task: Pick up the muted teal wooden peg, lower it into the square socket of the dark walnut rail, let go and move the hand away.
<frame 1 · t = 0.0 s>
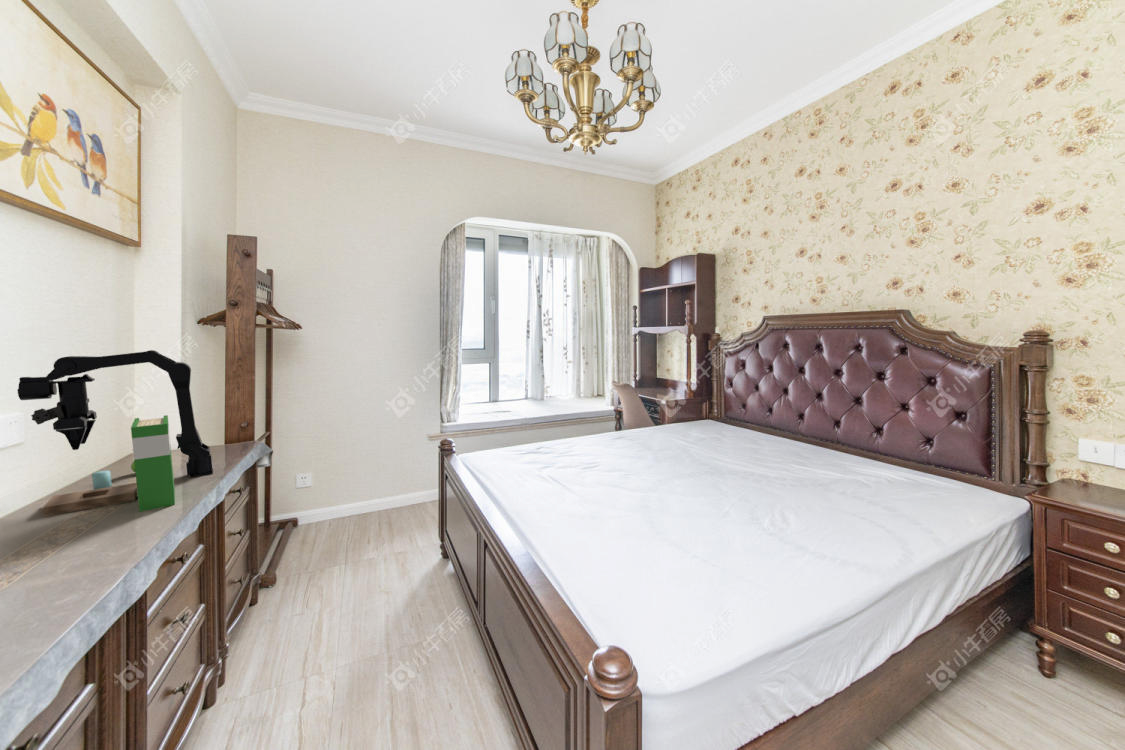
hand: (79, 446, 135), 15 cm above the dresser top, tool pointing down, fingers open, 9 cm apart
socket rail: (95, 502, 128), on the dresser top
snail figurine: (143, 473, 155), on the dresser top
hardback book: (158, 500, 130), on the dresser top
teal peg: (103, 490, 137), on the dresser top
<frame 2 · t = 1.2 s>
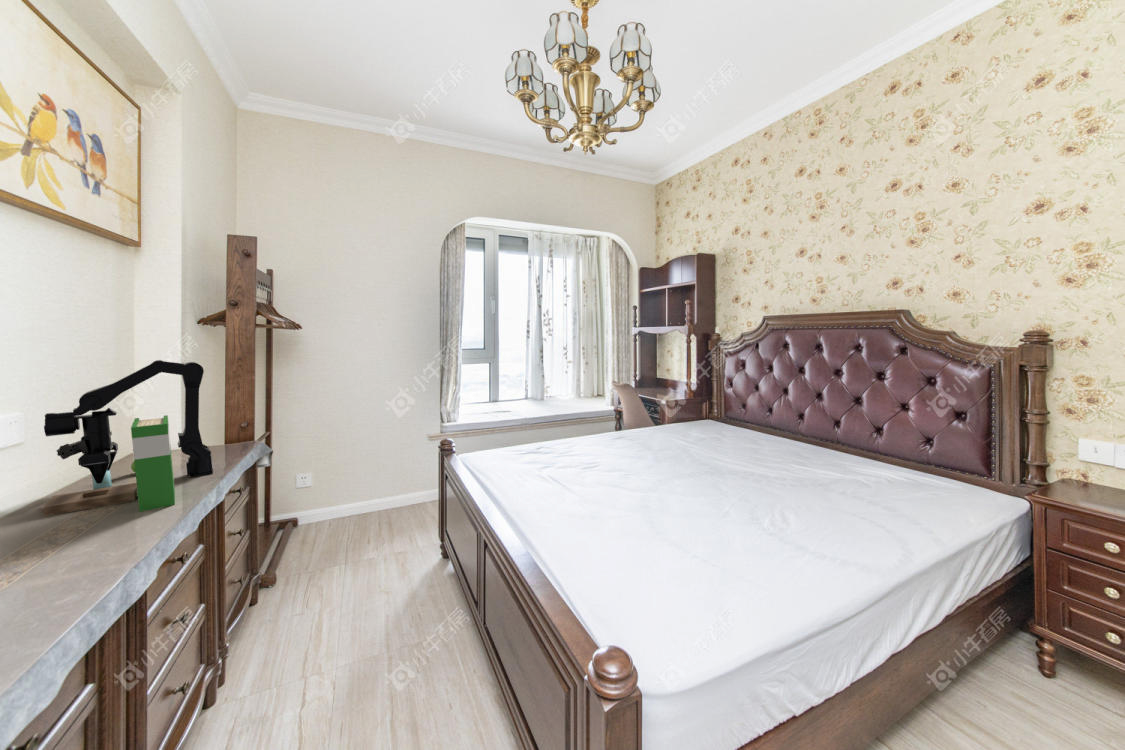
hand: (102, 479, 137), 4 cm above the dresser top, tool pointing down, fingers open, 9 cm apart
nothing on the dresser top moved.
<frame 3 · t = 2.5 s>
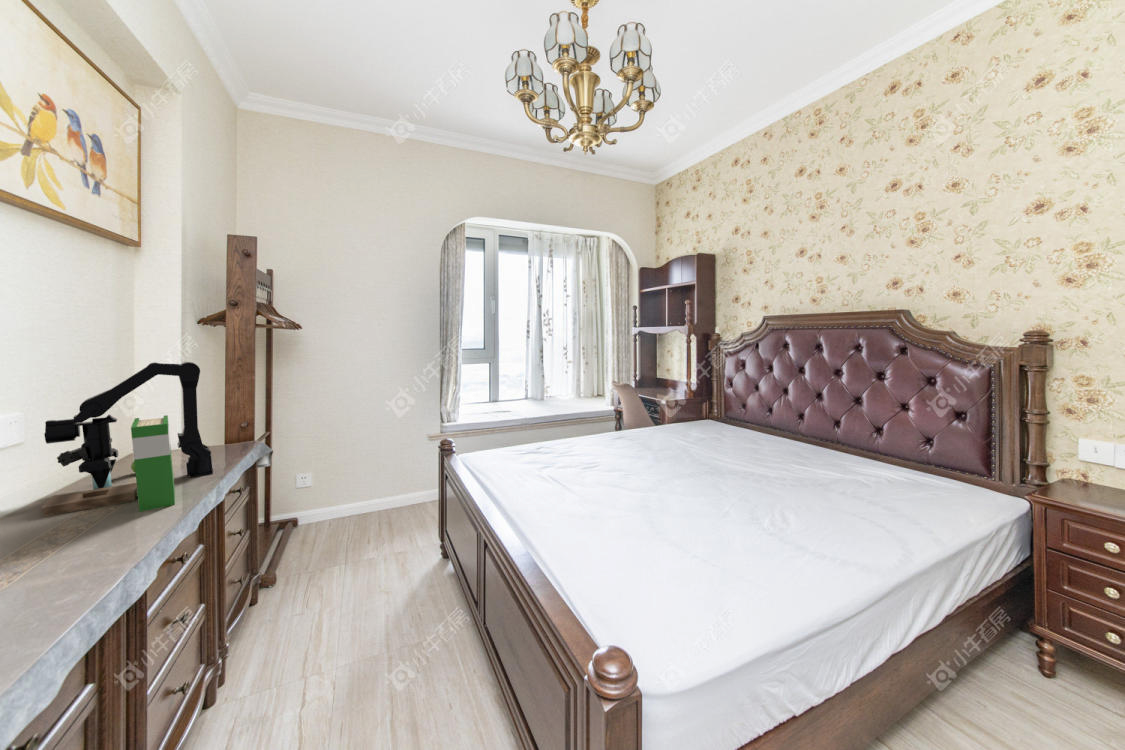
hand: (102, 486, 137), 2 cm above the dresser top, tool pointing down, fingers closed on teal peg, 4 cm apart
teal peg: (103, 490, 137), on the dresser top, touching gripper
everything else where it was.
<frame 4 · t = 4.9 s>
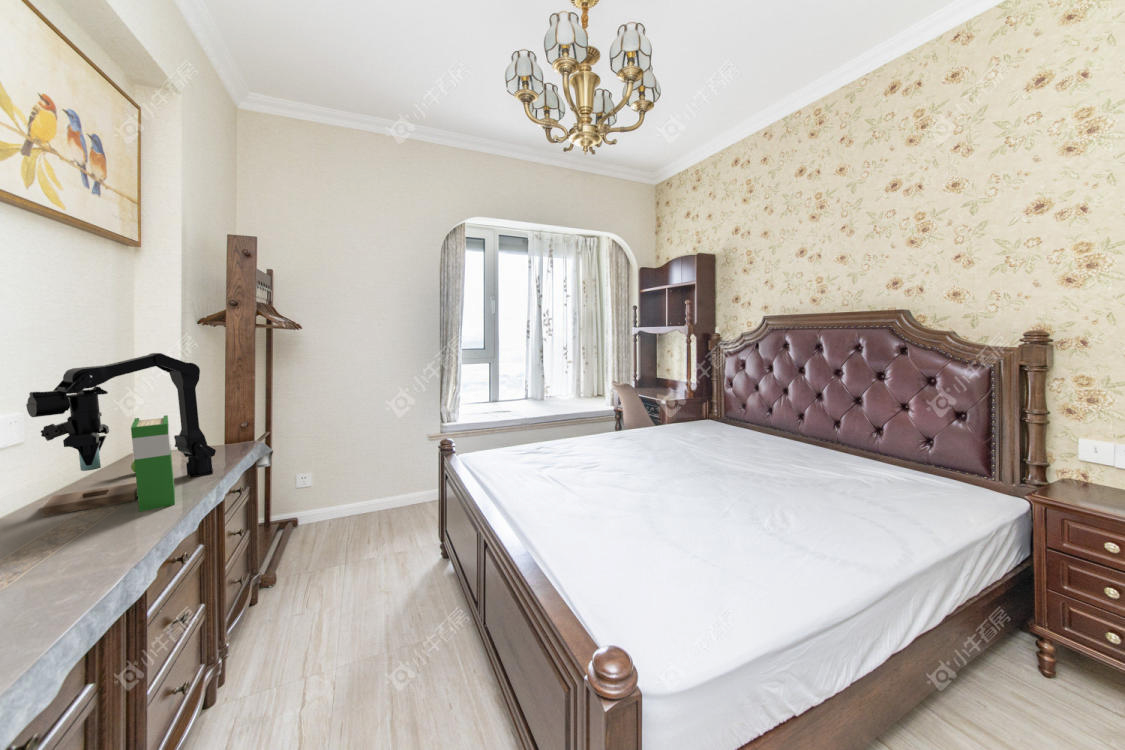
hand: (90, 463, 127), 12 cm above the dresser top, tool pointing down, fingers closed on teal peg, 4 cm apart
teal peg: (90, 468, 127), point 10 cm above the dresser top, touching gripper
everything else where it was.
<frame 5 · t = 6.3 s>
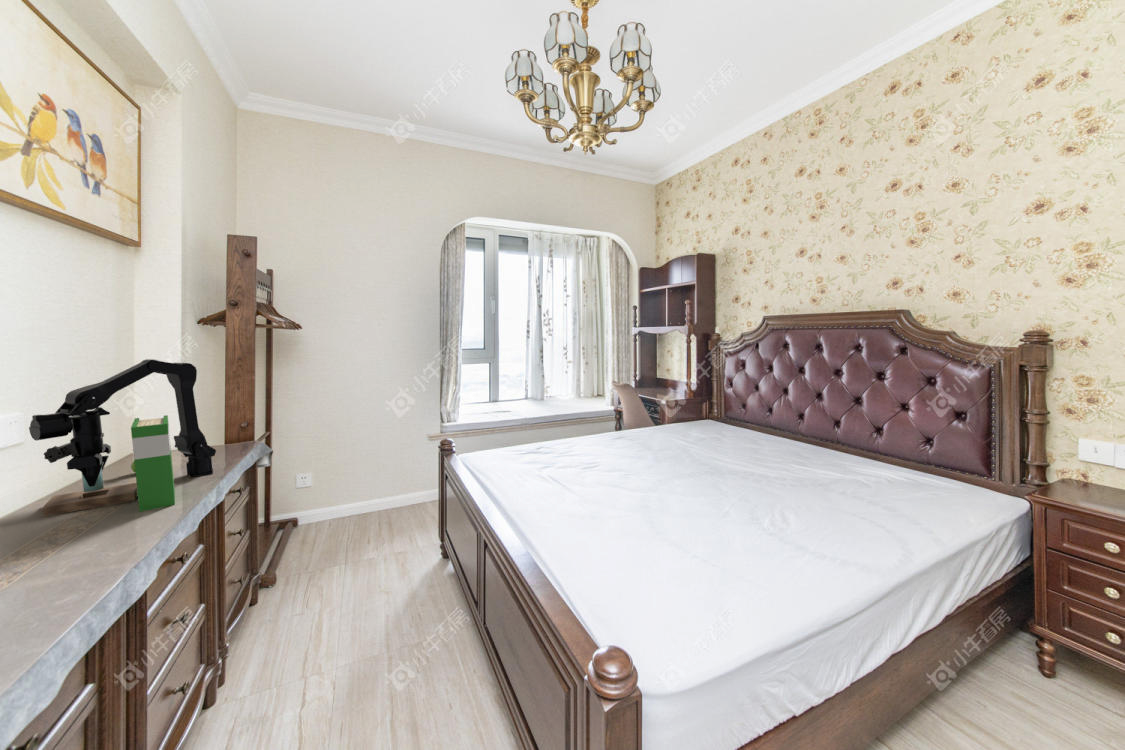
hand: (93, 484, 128), 5 cm above the dresser top, tool pointing down, fingers closed on teal peg, 4 cm apart
teal peg: (93, 489, 128), point 4 cm above the dresser top, touching gripper
everything else where it was.
when the fingers open (3 cm above the dresser top, at t = 7.5 s): teal peg drops 2 cm, resting in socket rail.
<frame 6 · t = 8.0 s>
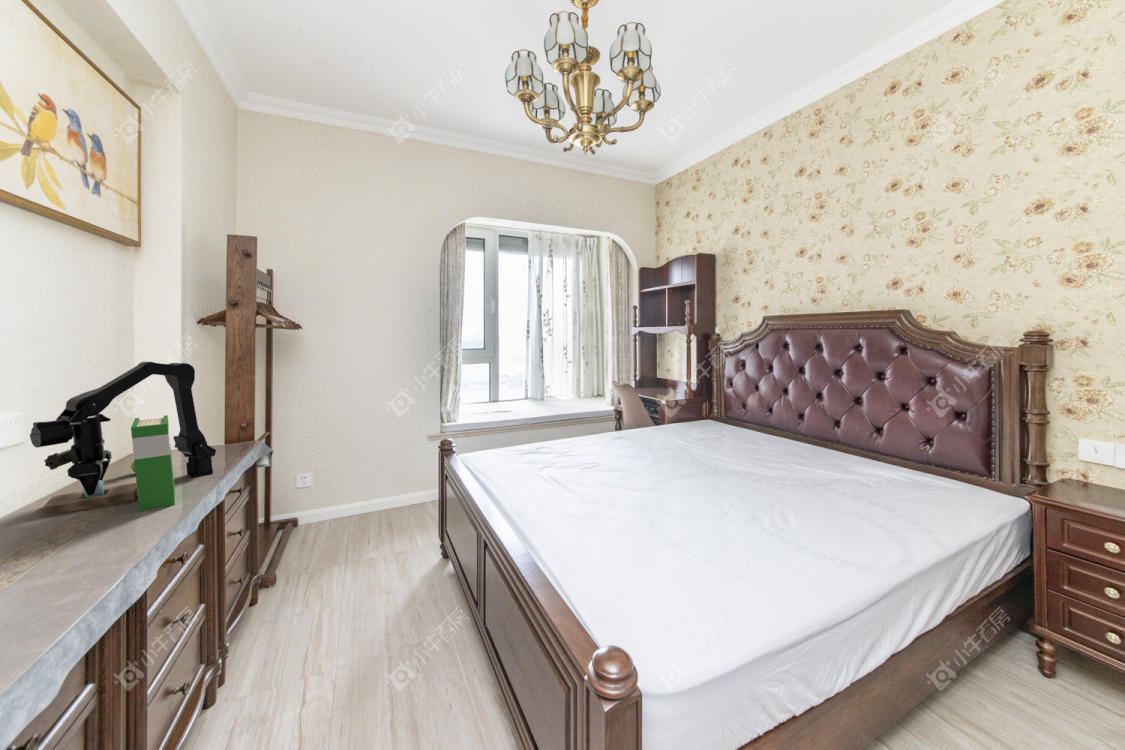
hand: (94, 490, 128), 3 cm above the dresser top, tool pointing down, fingers open, 9 cm apart
teal peg: (95, 502, 128), resting in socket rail
everything else where it was.
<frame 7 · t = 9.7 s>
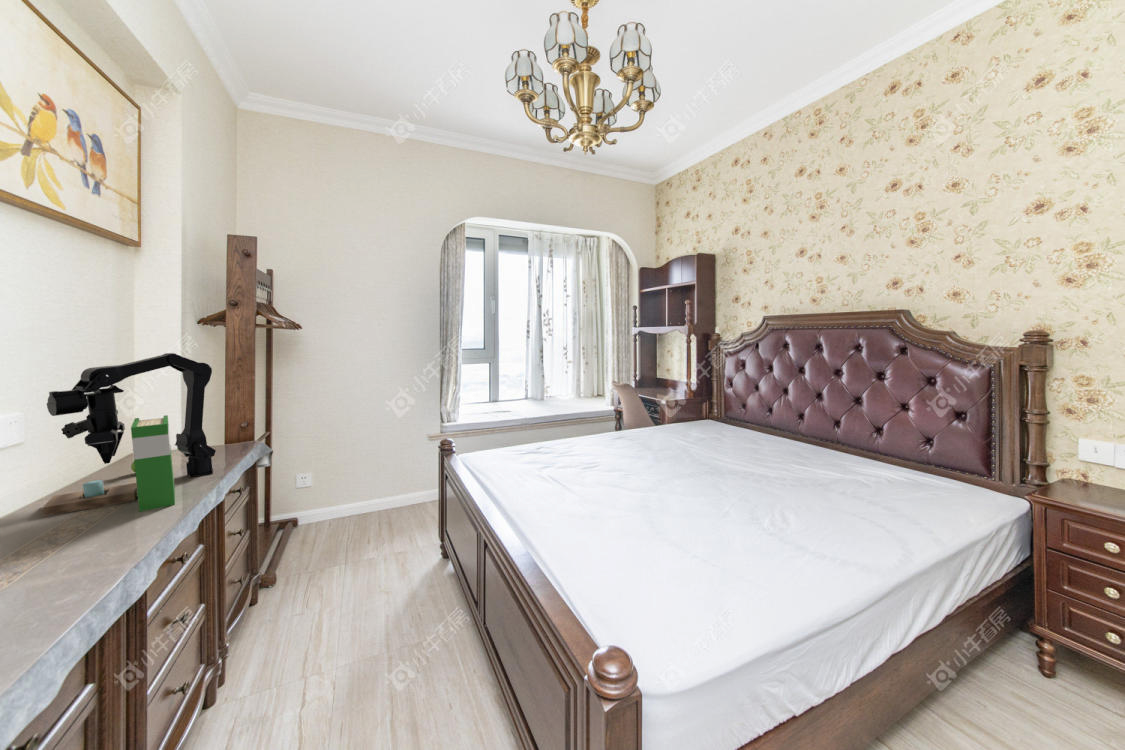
hand: (109, 459, 132), 11 cm above the dresser top, tool pointing down, fingers open, 9 cm apart
nothing on the dresser top moved.
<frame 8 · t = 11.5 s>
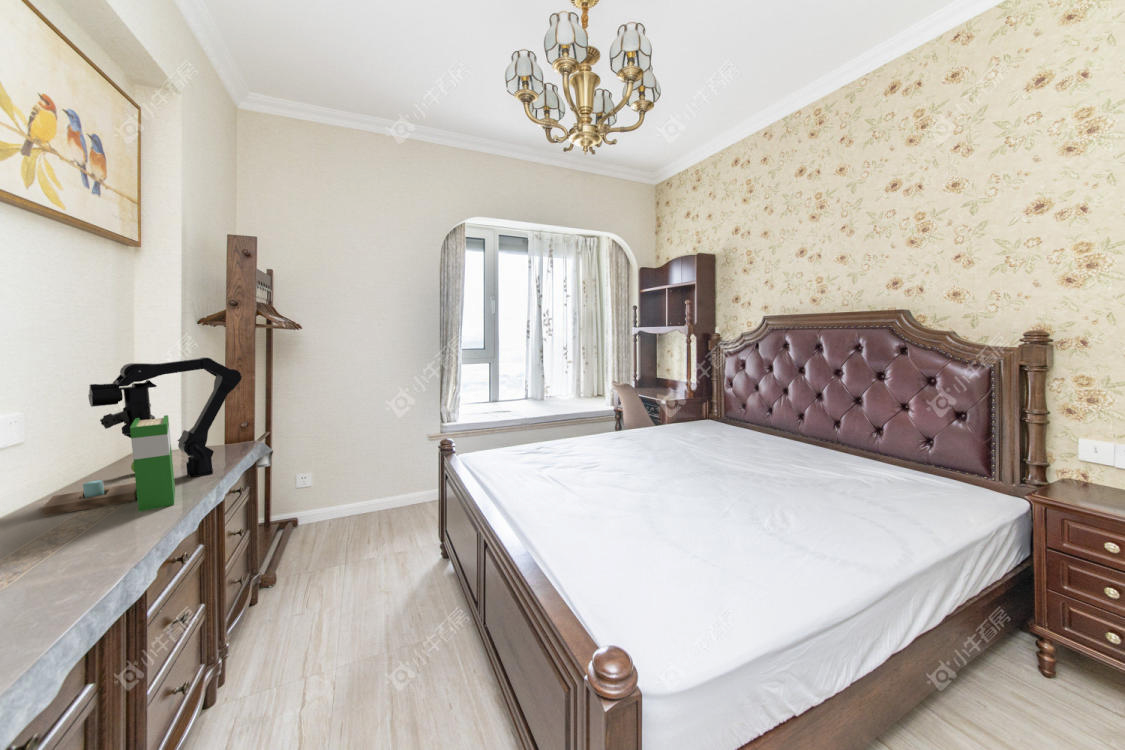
hand: (142, 449, 141), 12 cm above the dresser top, tool pointing down, fingers open, 9 cm apart
nothing on the dresser top moved.
at the end: teal peg 0.0 cm off-centre on the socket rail, point 0.0 cm above the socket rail's base; teal peg tilted 0°; the gripper is holding nothing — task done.
